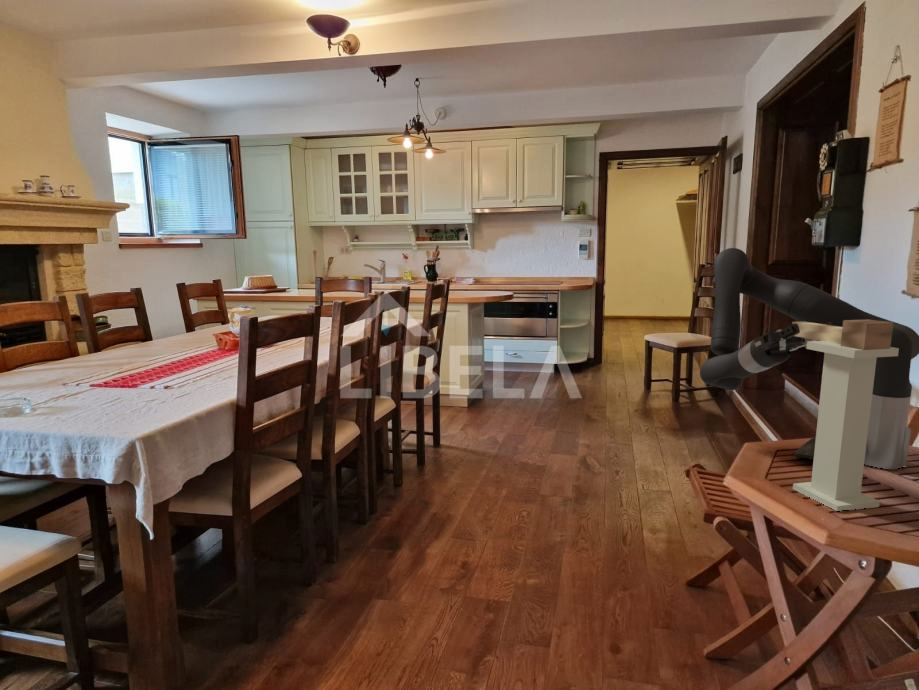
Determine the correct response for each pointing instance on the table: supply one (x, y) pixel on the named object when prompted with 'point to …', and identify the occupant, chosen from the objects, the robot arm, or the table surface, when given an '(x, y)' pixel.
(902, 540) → the table surface
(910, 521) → the table surface
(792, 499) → the table surface
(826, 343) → the stand
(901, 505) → the table surface
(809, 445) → the decorative stone
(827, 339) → the mallet
